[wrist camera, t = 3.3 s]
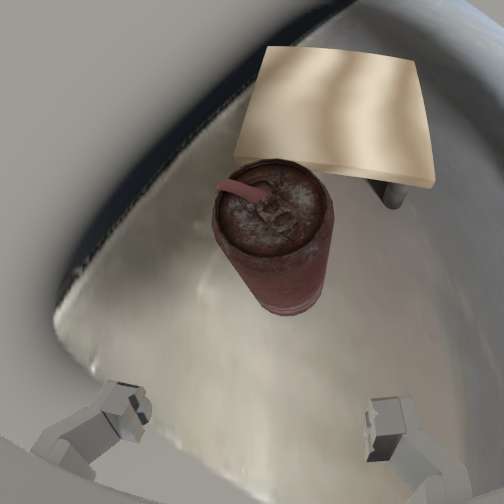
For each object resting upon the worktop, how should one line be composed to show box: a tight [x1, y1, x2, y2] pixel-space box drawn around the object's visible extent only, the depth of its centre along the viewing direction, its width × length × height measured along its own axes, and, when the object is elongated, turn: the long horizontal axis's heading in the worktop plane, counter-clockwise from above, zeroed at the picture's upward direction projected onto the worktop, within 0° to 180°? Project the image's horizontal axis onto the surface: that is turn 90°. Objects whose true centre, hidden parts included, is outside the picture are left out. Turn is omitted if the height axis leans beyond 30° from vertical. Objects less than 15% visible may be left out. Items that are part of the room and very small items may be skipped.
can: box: [212, 158, 334, 316], centre depth 21 cm, size 6×6×14 cm
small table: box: [233, 46, 435, 209], centre depth 29 cm, size 16×16×7 cm
